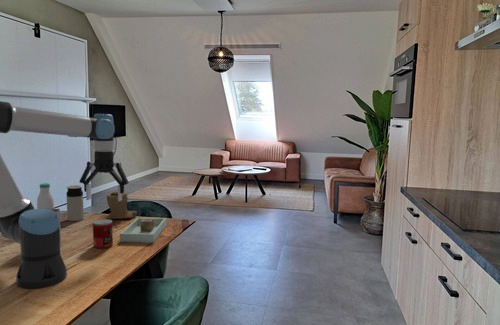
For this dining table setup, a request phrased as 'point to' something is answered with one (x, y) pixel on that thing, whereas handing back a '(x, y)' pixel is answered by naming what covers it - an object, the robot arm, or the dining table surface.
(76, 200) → the travel mug
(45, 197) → the milk bottle
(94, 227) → the canned food
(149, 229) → the walnut cube
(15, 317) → the dining table surface
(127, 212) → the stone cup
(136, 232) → the tray
